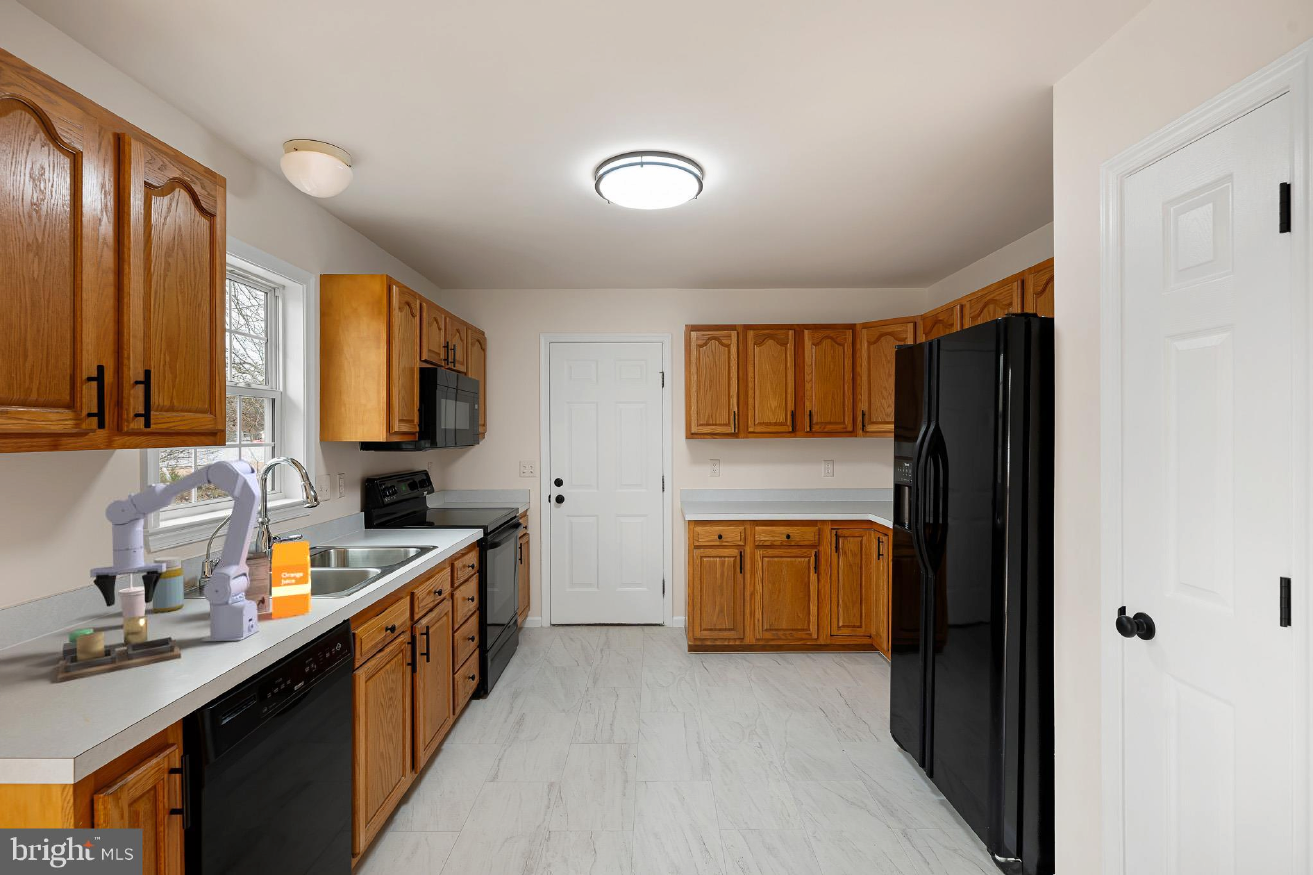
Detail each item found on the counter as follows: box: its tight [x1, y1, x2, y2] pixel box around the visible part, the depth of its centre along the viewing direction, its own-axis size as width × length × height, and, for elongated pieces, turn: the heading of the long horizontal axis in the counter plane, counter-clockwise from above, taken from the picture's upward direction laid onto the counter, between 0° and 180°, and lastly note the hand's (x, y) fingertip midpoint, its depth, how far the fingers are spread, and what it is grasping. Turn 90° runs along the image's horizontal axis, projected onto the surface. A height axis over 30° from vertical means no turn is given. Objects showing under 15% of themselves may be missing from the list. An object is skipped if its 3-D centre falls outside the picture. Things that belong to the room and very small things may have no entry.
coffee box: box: [245, 551, 271, 614], centre depth 177 cm, size 9×6×16 cm
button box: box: [62, 642, 77, 661], centre depth 141 cm, size 6×6×3 cm
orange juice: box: [271, 540, 312, 619], centre depth 174 cm, size 8×9×20 cm
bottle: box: [152, 555, 185, 613], centre depth 179 cm, size 7×7×15 cm
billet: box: [122, 615, 148, 647], centre depth 150 cm, size 4×4×6 cm
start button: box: [68, 628, 94, 643], centre depth 141 cm, size 4×4×2 cm
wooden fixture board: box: [57, 631, 182, 683], centre depth 137 cm, size 20×13×7 cm, turn 133°
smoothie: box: [117, 574, 147, 620], centre depth 164 cm, size 6×6×14 cm
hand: (129, 603), depth 151 cm, fingers open, 7 cm apart
